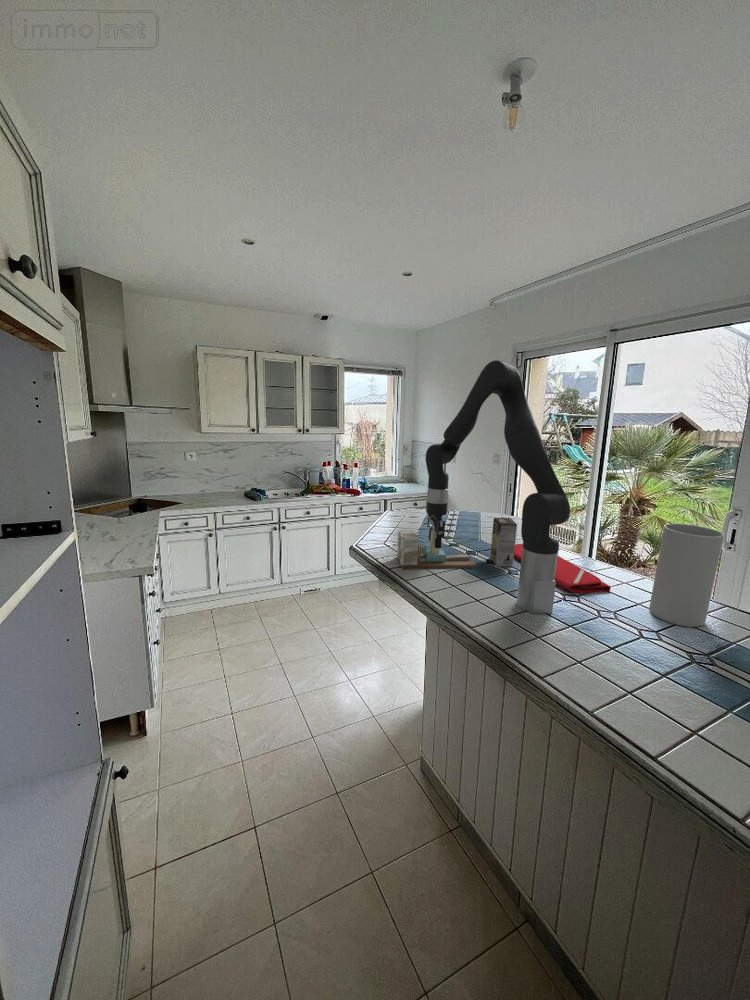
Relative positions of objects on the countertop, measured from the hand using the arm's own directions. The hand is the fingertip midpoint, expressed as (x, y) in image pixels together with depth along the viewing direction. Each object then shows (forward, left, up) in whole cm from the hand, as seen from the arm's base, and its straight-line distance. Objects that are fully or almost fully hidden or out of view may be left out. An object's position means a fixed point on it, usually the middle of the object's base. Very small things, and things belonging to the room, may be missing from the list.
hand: (434, 544), depth 146 cm
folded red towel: (-8, -41, -8) cm, 43 cm away
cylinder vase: (-45, -57, -7) cm, 73 cm away
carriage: (0, +1, -6) cm, 6 cm away
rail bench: (0, -1, -7) cm, 7 cm away
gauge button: (0, +8, -4) cm, 9 cm away
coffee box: (-1, -26, -7) cm, 27 cm away
